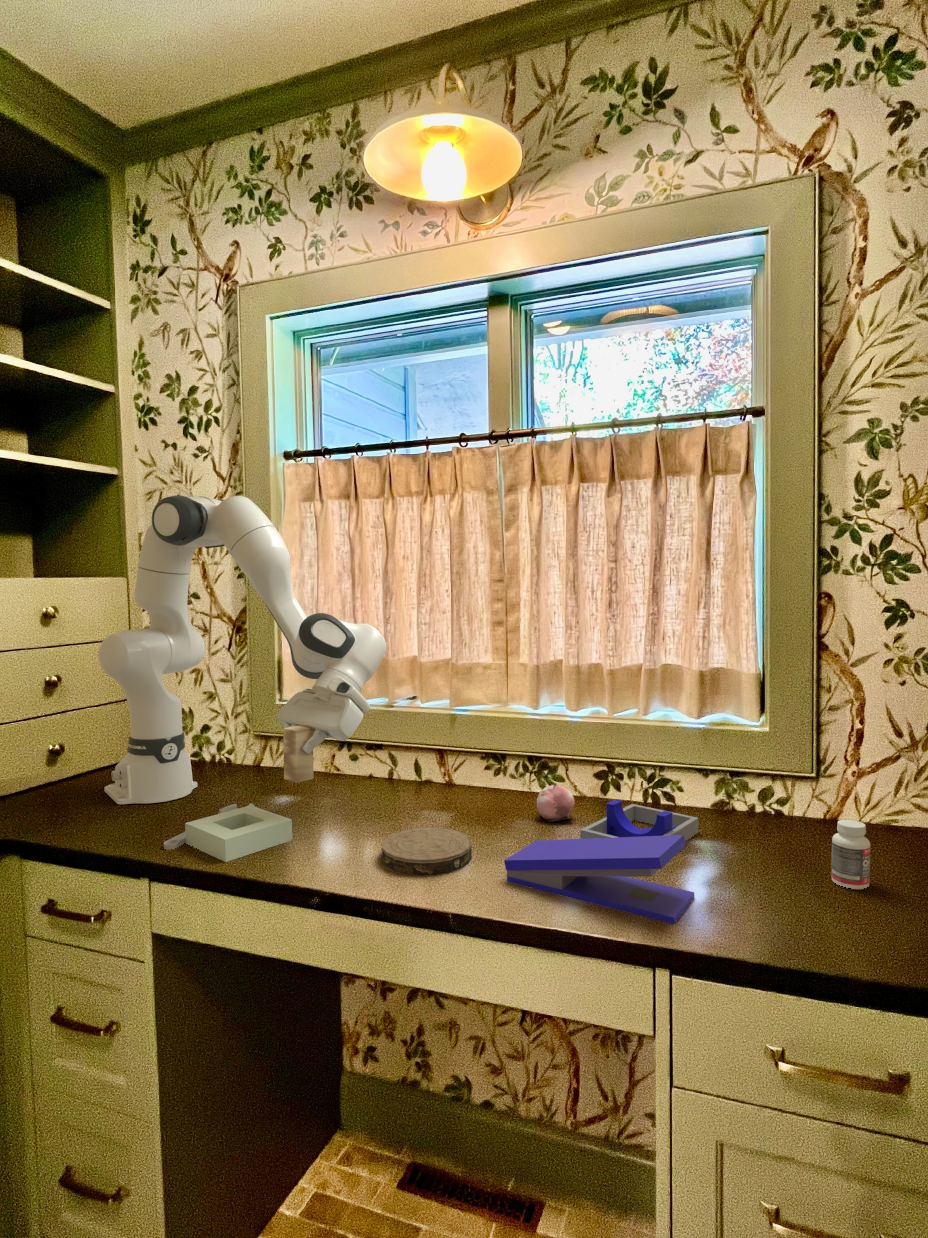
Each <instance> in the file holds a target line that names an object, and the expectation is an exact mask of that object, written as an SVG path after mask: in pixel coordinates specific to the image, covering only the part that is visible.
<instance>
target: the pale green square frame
mask: <svg viewBox="0 0 928 1238" xmlns="http://www.w3.org/2000/svg"><path fill="white" fill-rule="evenodd" d="M248 805H249V804H248ZM248 805H247V806H246V805H245V806H242V807H237V808H238V809H235V810H231V811H227V812H224V813H220V814H218V813H217V814H214V815H210V816H206V817H202V818H198V819H195V820H192V821H187V822H185V825H184V826H185V827H184V828H185V830H184V832H185V833H186V844H185V845H187V844H188V845H187V846H189V845H190V846H189V847H192V846H193V847H192V848H194V849H196V848H197V849H196V850H198V849H199V850H198V851H200V852H203V853H205V854H207V855H209V856H212V857H214V858H216V859H218V860H221V861H223V862H225V863H228V862H231V861H234V860H236V859H239V858H243V857H245V856H248V855H251V854H254V853H257V852H261V851H263V850H267V849H270V848H273V847H275V846H278V845H282V844H285V843H288V842H291V841H293V822H292V821H293V819H292V818H288V817H286V816H283V815H280V814H277V813H275V812H271V811H269V810H265V809H263V808H260V807H257V806H255V805H254V806H255V807H254V806H251V805H249V806H248Z"/></svg>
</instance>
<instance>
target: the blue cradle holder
mask: <svg viewBox="0 0 928 1238" xmlns="http://www.w3.org/2000/svg"><path fill="white" fill-rule="evenodd" d="M622 802H623V800H618V799H614V800H611V801H609V802H607V803H606V817H607V834H608V835H612V836H616V837H642V836H663V835H664V834H666V833H668V832H669V831H671V830H673V829H675V828H676V827H675V826H672V812H673V811H668V812H667V810H664V811H663V812H661V813H659V814H658V815H657V818H656V823H655V825H653V827H645V828H643V829H642V828H639V827H637V826H635V825H634V824H633V822H630V821H629V820H628V819H627V817H626V816H625V814H624V811H623V808H624V807H623V803H622Z"/></svg>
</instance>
